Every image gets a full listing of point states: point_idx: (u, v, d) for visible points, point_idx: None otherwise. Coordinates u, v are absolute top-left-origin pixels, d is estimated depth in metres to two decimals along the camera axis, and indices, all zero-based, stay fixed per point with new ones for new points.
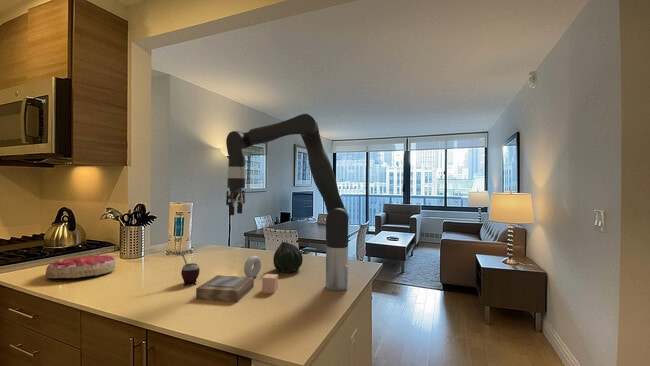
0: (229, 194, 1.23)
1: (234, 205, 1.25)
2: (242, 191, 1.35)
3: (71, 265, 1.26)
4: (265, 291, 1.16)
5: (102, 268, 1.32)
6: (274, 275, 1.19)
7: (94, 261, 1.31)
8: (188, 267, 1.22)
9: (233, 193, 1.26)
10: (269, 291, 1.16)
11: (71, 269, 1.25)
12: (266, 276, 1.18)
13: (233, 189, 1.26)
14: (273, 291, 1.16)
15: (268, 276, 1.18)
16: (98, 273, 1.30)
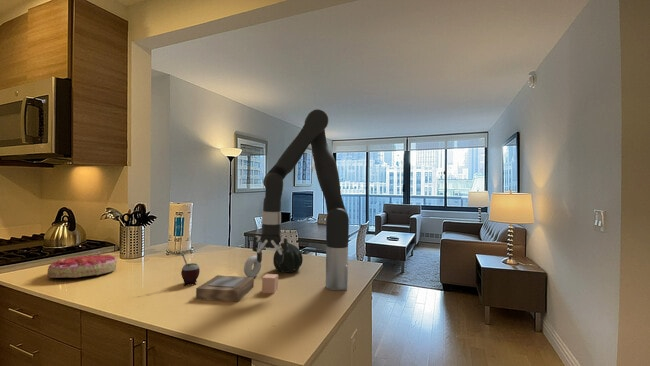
0: (287, 241, 1.18)
1: None
2: None
3: (73, 265, 1.26)
4: (265, 291, 1.16)
5: (103, 268, 1.33)
6: (274, 275, 1.19)
7: (95, 261, 1.32)
8: (188, 267, 1.22)
9: None
10: (269, 291, 1.16)
11: (72, 269, 1.25)
12: (266, 276, 1.18)
13: None
14: (273, 291, 1.16)
15: (268, 276, 1.18)
16: (100, 272, 1.31)
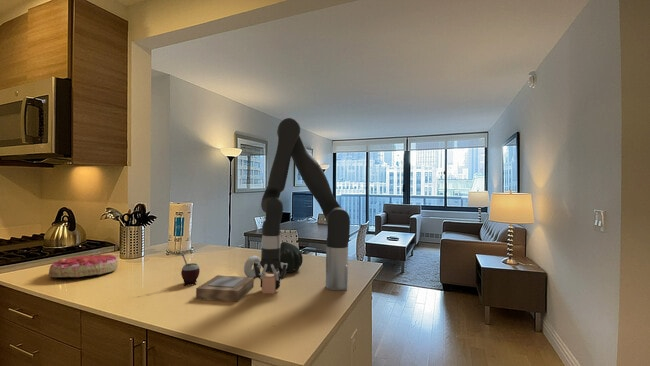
0: (286, 267, 1.18)
1: None
2: None
3: (74, 264, 1.27)
4: (265, 291, 1.16)
5: (105, 267, 1.33)
6: (274, 275, 1.19)
7: (97, 260, 1.32)
8: (188, 267, 1.22)
9: None
10: (269, 291, 1.16)
11: (74, 269, 1.26)
12: (266, 276, 1.18)
13: None
14: (273, 291, 1.16)
15: (268, 276, 1.18)
16: (101, 272, 1.32)
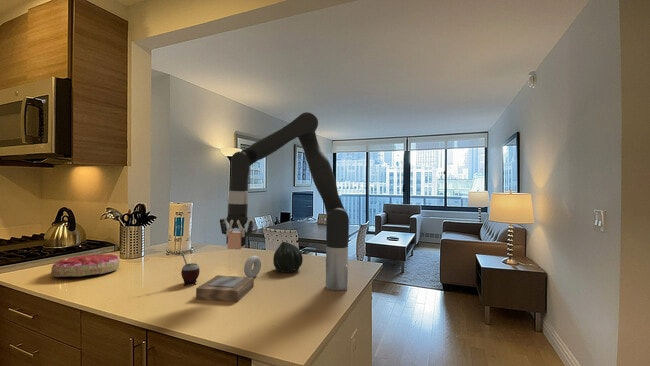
0: (252, 224, 1.16)
1: None
2: (224, 219, 1.18)
3: (77, 264, 1.28)
4: (230, 247, 1.14)
5: (107, 267, 1.34)
6: None
7: (99, 260, 1.33)
8: (188, 267, 1.22)
9: None
10: (234, 247, 1.14)
11: (76, 268, 1.27)
12: (232, 232, 1.16)
13: (246, 216, 1.16)
14: (238, 247, 1.14)
15: (235, 232, 1.16)
16: (103, 271, 1.33)
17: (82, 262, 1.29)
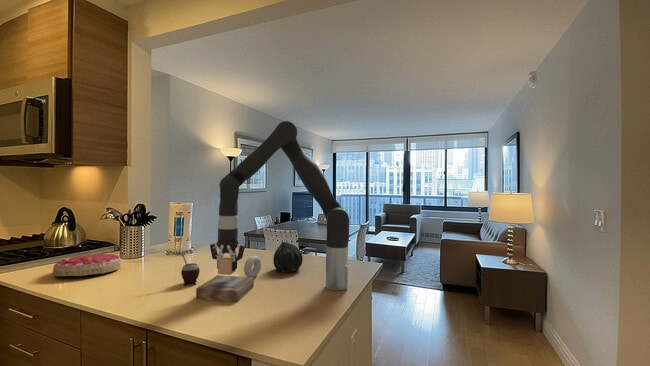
0: (243, 249, 1.15)
1: None
2: None
3: (78, 263, 1.29)
4: (221, 272, 1.13)
5: (108, 266, 1.35)
6: None
7: (100, 259, 1.34)
8: (188, 267, 1.22)
9: None
10: (225, 272, 1.13)
11: (78, 268, 1.27)
12: (223, 257, 1.15)
13: None
14: (229, 272, 1.13)
15: (225, 257, 1.15)
16: (104, 271, 1.33)
17: (84, 262, 1.30)
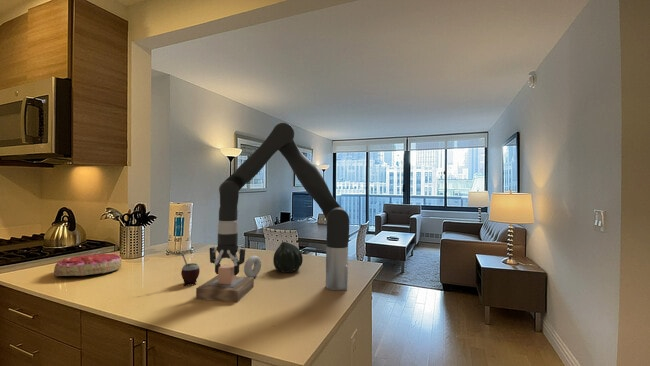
0: (244, 252, 1.15)
1: None
2: None
3: (79, 263, 1.29)
4: (221, 282, 1.13)
5: (109, 266, 1.35)
6: (231, 265, 1.16)
7: (101, 259, 1.34)
8: (188, 267, 1.22)
9: None
10: (225, 282, 1.13)
11: (79, 267, 1.28)
12: (223, 266, 1.15)
13: None
14: (229, 282, 1.13)
15: (225, 266, 1.15)
16: (105, 271, 1.34)
17: (85, 261, 1.30)
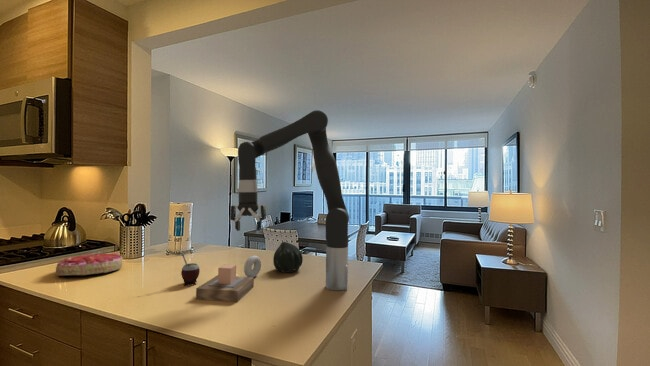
0: (264, 208, 1.21)
1: None
2: (235, 206, 1.22)
3: (81, 263, 1.30)
4: (221, 282, 1.13)
5: (111, 266, 1.36)
6: (231, 265, 1.16)
7: (103, 259, 1.35)
8: (188, 267, 1.22)
9: (258, 207, 1.22)
10: (225, 282, 1.13)
11: (81, 267, 1.29)
12: (223, 266, 1.15)
13: None
14: (229, 282, 1.13)
15: (225, 266, 1.15)
16: (107, 270, 1.35)
17: (86, 261, 1.31)
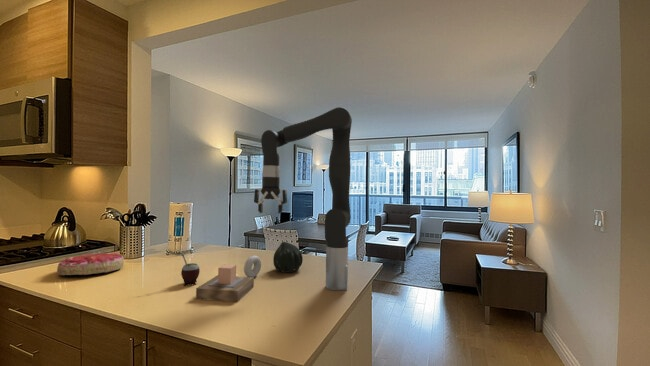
0: (285, 193, 1.29)
1: None
2: (258, 190, 1.31)
3: (83, 262, 1.30)
4: (221, 282, 1.13)
5: (112, 265, 1.37)
6: (231, 265, 1.16)
7: (104, 258, 1.36)
8: (188, 267, 1.22)
9: None
10: (225, 282, 1.13)
11: (83, 266, 1.29)
12: (223, 266, 1.15)
13: None
14: (229, 282, 1.13)
15: (225, 266, 1.15)
16: (108, 270, 1.35)
17: (88, 261, 1.32)
